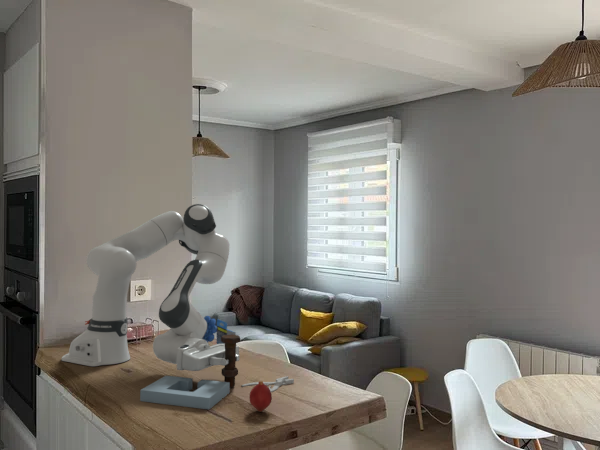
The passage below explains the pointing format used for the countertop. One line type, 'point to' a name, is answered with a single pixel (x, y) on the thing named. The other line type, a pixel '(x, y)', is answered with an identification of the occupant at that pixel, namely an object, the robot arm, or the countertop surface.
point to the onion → (260, 396)
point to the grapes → (210, 329)
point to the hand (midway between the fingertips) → (232, 360)
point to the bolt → (230, 358)
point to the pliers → (277, 384)
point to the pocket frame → (185, 392)
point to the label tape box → (222, 331)
